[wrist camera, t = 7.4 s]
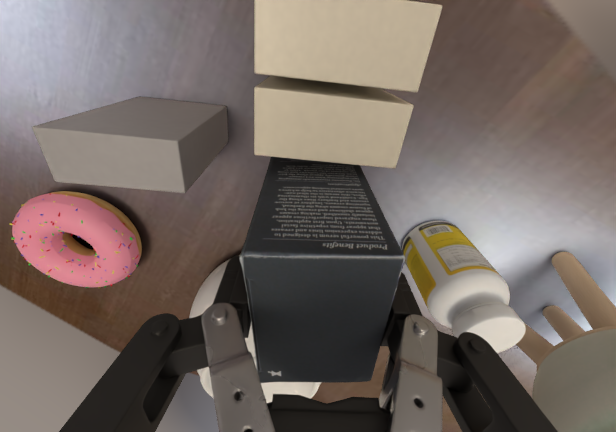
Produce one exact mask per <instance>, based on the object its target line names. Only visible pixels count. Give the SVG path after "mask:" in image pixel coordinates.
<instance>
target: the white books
mask: <svg viewBox="0 0 616 432" xmlns="http://www.w3.org/2000/svg"><path fill="white" fill-rule="evenodd" d="M441 10H442V5H438V4H430V3H423V2H416V1H409V0H254V72H255V73H256V74H262V75H271V76H269V77H268V78H267V79H265V80H264V81H263V82H261V83H260V84H258V85H257V86H256V87H255V88H254V154H255V155H260V156H270V157H281V158H291V159H301V160H311V161H322V162H332V163H342V164H352V165H363V166H373V167H383V168H394V169H395V168H396V164H397V161H398V158H399V154H400V151H401V147H402V144H403V141H404V137H405V134H406V130H407V127H408V123H409V120H410V117H411V113H412V110H413V105H412V104H410V103H408V102H406V101H404V100H402V99H400V98H398V97H396V96H394V95H392V94H391V93H389V92H387V91H385V90H383V89H391V90H400V91H408V92H417V91H418V89H419V85H420V82H421V79H422V75H423V72H424V68H425V65H426V61H427V58H428V55H429V51H430V48H431V44H432V41H433V38H434V34H435V31H436V27H437V24H438V21H439V17H440V14H441ZM381 88H383V89H381Z"/></svg>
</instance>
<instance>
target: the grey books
mask: <svg viewBox="0 0 616 432" xmlns="http://www.w3.org/2000/svg"><path fill="white" fill-rule="evenodd" d="M32 129H33V131H34V134H35V136H36V138H37V141H38V143H39V145H40V148H41V150H42V152H43V155H44V157H45V159H46V162H47V164H48V166H49V169H50V171H51V173H52V176H53V178H54V180H55V182H63V183H74V184H86V185H97V186H109V187H120V188H132V189H143V190H155V191H166V192H178V193H186V192H187V190H188V189H189V188H190V187H191V186H192V184H193V183H194V182H195V181H196V180H197V178H198V177H199V176H200V175H201V174H202V173H203V171H204V170H205V169H206V168H207V167H208V165H209V164H210V163H211V162H212V161H213V159H214V158H215V157H216V156H217V155H218V153H219V152H220V151H221V150H222V149H223V147H224V146H225V145H226V144H227V143H228V124H227V107H226V106H222V105H213V104H204V103H194V102H185V101H176V100H167V99H157V98H148V97H136V98H132V99H129V100H125V101H122V102H118V103H114V104H111V105H107V106H104V107H100V108H97V109H93V110H89V111H86V112H82V113H79V114H75V115H72V116H68V117H65V118H61V119H57V120H54V121H50V122H47V123H43V124H40V125H36V126H33V127H32Z"/></svg>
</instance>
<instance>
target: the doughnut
mask: <svg viewBox="0 0 616 432" xmlns="http://www.w3.org/2000/svg"><path fill="white" fill-rule="evenodd" d="M21 206H22V207H21V208H20V210H19V211H18V213H17V215H16V216H15V219H14V221H12V222H13V223H12V224H10V225H13V229H12V232H13V238H11V239H12V240H13V239H14V243H15V244H16V245H17V247H18V249H19V250H20V252H21V253H22V254H21V255H22V256H24V257H25V258H26V259H24V260H26V261H28V262H29V263H30V264H29V265H31V264H32V265H33V266H34V267H36V268H37V269H38V270H40V271H41V272H42V273H43V274H46V275H48V277H52V278H54V279H56V280H57V281H60V282H64V283H67V284H71V285H76V286H82V287H86V288H88V287H98V288H100V287H102V286H105V287H106V286H107V285H111V286H112V284H114V283H117V282H119V281H121V280H122V279H123V280H124V278H126V279H127V276H128V277H130V276H131V273H132V272H133V271H134V270H135V269H136V267H138V262H139V260H140V257H141V253H142V244H141V239H140V236H139V233H138V231H137V229H136V228H135V226H134V225H133V223H132V222H131V221H130V220H129V218H128V217H127V216H126V215H125V214H123V213H122V212H121V211H120V210H119V209H117V208H116V207H114V206H113V205H111V204H110V203H108V202H106V201H104V200H102V199H100V198H97V197H94V196H91V195H88V194H84V193H79V192H71V191H59V192H52V193H48V194H44V195H40V196H37V197H34V198H32V199H30V200H29V201H27V202H26V203H25V204H23V205H21ZM70 233H71V235H70ZM72 234H74V235H77V236H78V237H81V238H82V239H84V240H86V241H87V243H89V244H90V245H91V246H92V247H93V250H92V249H89V248H87V247H85V246H83V245H81V244H80V243H78V242H77V241H76V240H75V239H74V238H73V237H72ZM105 287H104V288H105Z"/></svg>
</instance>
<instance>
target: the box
mask: <svg viewBox="0 0 616 432" xmlns="http://www.w3.org/2000/svg"><path fill="white" fill-rule="evenodd" d="M239 259H240V263H241V266H242V270H243V275H244V280H245V286H246V291H247V299H248V306H249V312H250V318H251V324H252V333H253V342H254V348H255V358H256V368H257V373H258V376H259V379H260V383H268V382H363V381H370V380H371V378H372V375H373V371H374V367H375V363H376V360H377V356H378V352H379V349H380V345H381V342H382V338H383V334H384V331H385V328H386V324H387V320H388V317H389V313H390V310H391V306H392V303H393V299H394V295H395V292H396V289H397V285H398V281H399V278H400V274H401V271H402V268H403V264H404V261H405V256H404V254H403V252H402V250H401V249H400V247H399V245H398V243H397V241H396V239H395V237H394V235H393V233H392V231H391V229H390V227H389V225H388V223H387V221H386V219H385V217H384V215H383V213H382V211H381V208H380V206H379V204H378V202H377V200H376V198H375V196H374V194H373V192H372V190H371V188H370V186H369V184H368V181H367V180H366V177H365V175H364V173H363V171H362V169H361V167H360V165H352V164H342V163H332V162H322V161H311V160H301V159H291V158H281V157H271V160H270V163H269V166H268V170H267V173H266V176H265V180H264V183H263V186H262V189H261V192H260V195H259V198H258V202H257V205H256V208H255V211H254V214H253V218H252V220H251V224H250V227H249V230H248V233H247V237H246V240H245V243H244V245H243V248H242V251H241V254H240V257H239Z"/></svg>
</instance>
